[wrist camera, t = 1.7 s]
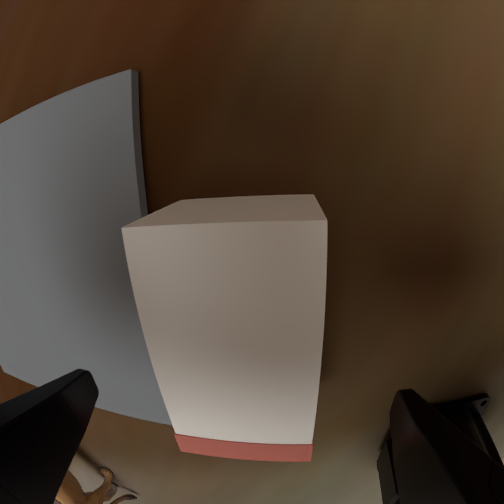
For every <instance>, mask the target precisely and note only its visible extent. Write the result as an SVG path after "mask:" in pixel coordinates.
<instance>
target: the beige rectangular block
mask: <svg viewBox="0 0 504 504" xmlns="http://www.w3.org/2000/svg"><path fill="white" fill-rule="evenodd" d="M121 229H122V236H123V242H124V247H125V253H126V259H127V264H128V269H129V274H130V279H131V284H132V289H133V293H134V298H135V302H136V306H137V310H138V315H139V319H140V323H141V327H142V330H143V334H144V338H145V342H146V345H147V349H148V352H149V356H150V359H151V363H152V366H153V369H154V373H155V376H156V379H157V382H158V385H159V388H160V391H161V394H162V397H163V400H164V403H165V406H166V409H167V412H168V414H169V417H170V420H171V423H172V425H173V428H174V431H175V433H174V435H175V438H176V440H177V443H178V445H179V448H180V450H181V451H184V452H189V453H195V454H202V455H209V456H216V457H225V458H234V459H245V460H259V461H285V462H310V461H311V456H312V450H313V432H314V425H315V417H316V409H317V400H318V391H319V381H320V371H321V360H322V348H323V334H324V319H325V300H326V276H327V218H326V217H325V215H324V213H323V211H322V209H321V207H320V205H319V203H318V201H317V200H316V198H315V196H314V194H300V195H263V196H238V197H219V198H202V199H187V200H180V201H178V202H175V203H173V204H171V205H169V206H166V207H164V208H162V209H160V210H158V211H155V212H153V213H151V214H149V215H147V216H145V217H142V218H140V219H138V220H136V221H134V222H132V223H130V224H128V225H126V226H124V227H122V228H121Z"/></svg>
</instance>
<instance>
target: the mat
mask: <svg viewBox="0 0 504 504" xmlns="http://www.w3.org/2000/svg"><path fill="white" fill-rule="evenodd" d="M147 215H148V209H147V201H146V192H145V183H144V173H143V162H142V149H141V135H140V117H139V87H138V72H137V71H135V70H132V69H130V70H126V71H123V72H120V73H117V74H113V75H110V76H107V77H104V78H101V79H98V80H96V81H93V82H90V83H87V84H85V85H82V86H79V87H77V88H74V89H72V90H69V91H67V92H64V93H62V94H60V95H57V96H55V97H53V98H51V99H48V100H46V101H44V102H42V103H40V104H38V105H36V106H34V107H32V108H30V109H28V110H26V111H24V112H22V113H20V114H18V115H16V116H14V117H12V118H10V119H9V120H7V121H5V122H3V123H1V124H0V365H1V367H2V369H3V371H4V372H6V373H8V374H10V375H12V376H14V377H16V378H18V379H21V380H23V381H25V382H28V383H30V384H32V385H35V386H37V387H40V386H42V385H44V384H46V383H48V382H50V381H53V380H55V379H57V378H59V377H61V376H63V375H65V374H68V373H70V372H72V371H74V370H76V369H84V370H88V371H90V372H91V374H92V376H93V378H94V380H95V383H96V385H97V387H98V390H99V396H98V399H97V401H96V404H95V407H97V408H100V409H104V410H107V411H111V412H115V413H118V414H122V415H126V416H130V417H134V418H139V419H143V420H148V421H152V422H157V423H162V424H168V425H172V423H171V420H170V417H169V414H168V412H167V409H166V406H165V403H164V400H163V397H162V394H161V391H160V388H159V385H158V382H157V379H156V376H155V373H154V369H153V366H152V363H151V359H150V356H149V352H148V349H147V345H146V342H145V338H144V334H143V330H142V327H141V323H140V319H139V315H138V310H137V306H136V302H135V298H134V293H133V289H132V284H131V279H130V274H129V269H128V264H127V259H126V253H125V247H124V242H123V236H122V229H121V228H122V227H124V226H126V225H128V224H130V223H132V222H134V221H136V220H138V219H140V218H142V217H145V216H147Z"/></svg>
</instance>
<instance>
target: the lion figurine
mask: <svg viewBox="0 0 504 504" xmlns="http://www.w3.org/2000/svg"><path fill="white" fill-rule="evenodd" d="M101 473H102V474H103V475H104V482H103V484H102V485H101V486H100V487H99V488H98V489H96V490H95V491H93V492H86V493H84V492H83V490H82V488H81V486H80V484H79V482H78V481H77V479H76V478H75V477H74V476H73V475H72V474H71V473H70V472H69V471H67V473H66V475H65V477H64V480H63V482H62V484H61V487H60V489H59V491H58V494H57V496H56V498H55V499H57V500H58V501H59V502H61V503H62V504H103V502H104V501H109V500H110V499H111V498H112V497H113V496H114V495H115V493H116V492H117V487H116V486H115V485H114V484H113V483H111V479H112V472H111V471H110V470H108V469H107V468H101ZM133 499H137V497H135V496H134V495H131V494H127V495H123V496H121V497H119V498H117V499H116V500H114V501H113V502H111V503H110V504H118V503H119V502H121V501H123V500H133Z"/></svg>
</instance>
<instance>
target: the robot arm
mask: <svg viewBox="0 0 504 504" xmlns="http://www.w3.org/2000/svg"><path fill="white" fill-rule="evenodd" d="M98 396H99V390H98V387H97V385H96V383H95V380H94V378H93V376H92V374H91V372H90V371H88V370H84V369H76V370H74V371H72V372H70V373H68V374H65V375H63V376H61V377H59V378H57V379H55V380H53V381H50V382H48V383H46V384H44V385H42V386H40V387H37V388H35V389H33V390H31V391H29V392H26V393H24V394H22V395H20V396H17V397H15V398H13V399H11V400H8V401H6V402H4V403H2V404H0V504H53V503H54V501H55V498H56V496H57V494H58V491H59V489H60V487H61V484H62V482H63V480H64V477H65V475H66V473H67V471H68V468H69V466H70V464H71V462H72V459H73V457H74V455H75V453H76V451H77V449H78V446H79V444H80V442H81V440H82V438H83V436H84V434H85V431H86V429H87V426H88V423H89V420H90V418H91V415H92V412H93V409H94V407H95V404H96V401H97V399H98ZM489 401H490V397H489V396H488V394H487V393H484V394H481V395H477V396H473V397H469V398H465V399H461V400H456V401H452V402H447V403H442V404H437V405H432V406H431V405H430V404H429V403H428V402H427V401H426V400H424V399H423V398H422V397H421V396H420V395H419V394H418V393H416V392H415V391H414V390H413V389H403V390H398V391H397V392H396V395H395V398H394V401H393V404H392V407H391V410H390V426H391V435H390V438H388V440H387V441H386V442H385V444H384V447H383V449H382V451H381V453H380V455H379V458H378V460H377V470H378V472H379V479H380V486H381V493H382V501H383V504H504V465H503V463H502V460H501V458H500V455H499V453H498V451H497V449H496V446H495V444H494V442H493V440H492V438H491V436H490V433H489V431H488V429H487V427H486V425H485V423H484V421H483V419H482V417H481V416H482V414H483V412H484V411H485V409H486V407H487V405H488V403H489Z"/></svg>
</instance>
